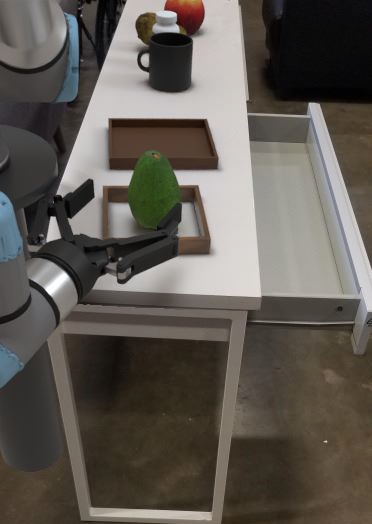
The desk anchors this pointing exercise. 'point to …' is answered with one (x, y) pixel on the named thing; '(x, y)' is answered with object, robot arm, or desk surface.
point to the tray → (162, 142)
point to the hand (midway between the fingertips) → (134, 199)
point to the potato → (148, 26)
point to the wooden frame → (187, 194)
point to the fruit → (187, 13)
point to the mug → (169, 61)
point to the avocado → (152, 189)
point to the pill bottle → (165, 22)
